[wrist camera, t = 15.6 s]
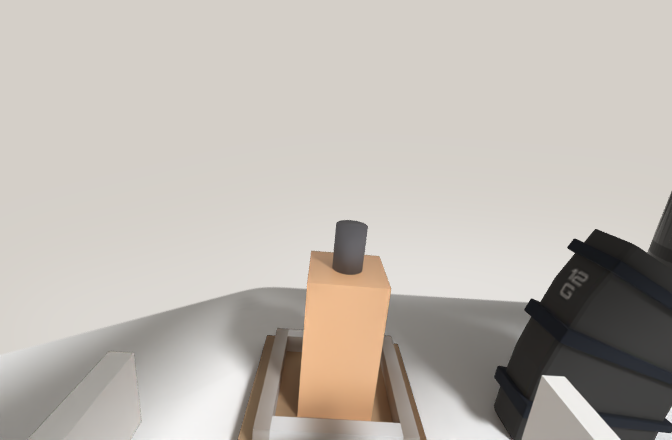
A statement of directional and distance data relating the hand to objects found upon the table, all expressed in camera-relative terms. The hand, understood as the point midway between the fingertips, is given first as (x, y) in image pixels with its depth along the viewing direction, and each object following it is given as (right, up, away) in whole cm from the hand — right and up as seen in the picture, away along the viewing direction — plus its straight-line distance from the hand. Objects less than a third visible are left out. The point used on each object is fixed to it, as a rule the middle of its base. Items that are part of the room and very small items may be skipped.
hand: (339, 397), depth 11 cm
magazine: (+19, -10, +15) cm, 26 cm away
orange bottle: (0, -7, +14) cm, 16 cm away
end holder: (0, -8, +15) cm, 17 cm away
